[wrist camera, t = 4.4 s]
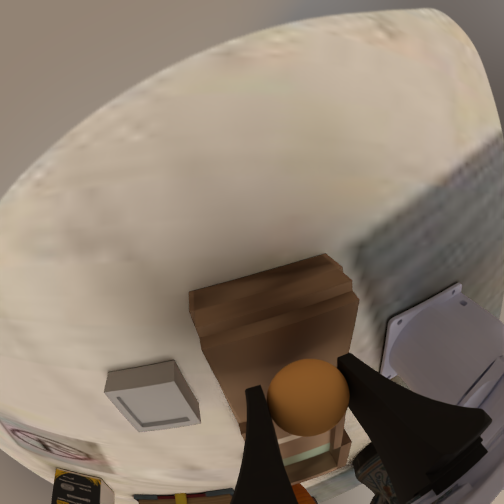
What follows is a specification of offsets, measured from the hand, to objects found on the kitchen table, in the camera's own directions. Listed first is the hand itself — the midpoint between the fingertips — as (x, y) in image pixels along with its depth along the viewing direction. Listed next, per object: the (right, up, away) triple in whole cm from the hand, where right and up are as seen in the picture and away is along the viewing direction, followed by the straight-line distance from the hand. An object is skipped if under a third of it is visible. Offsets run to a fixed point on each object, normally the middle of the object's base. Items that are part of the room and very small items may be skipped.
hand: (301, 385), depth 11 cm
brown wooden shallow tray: (+1, -8, +10) cm, 12 cm away
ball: (0, 0, -1) cm, 1 cm away
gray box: (-9, -4, +6) cm, 11 cm away
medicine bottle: (-26, -26, +11) cm, 38 cm away
